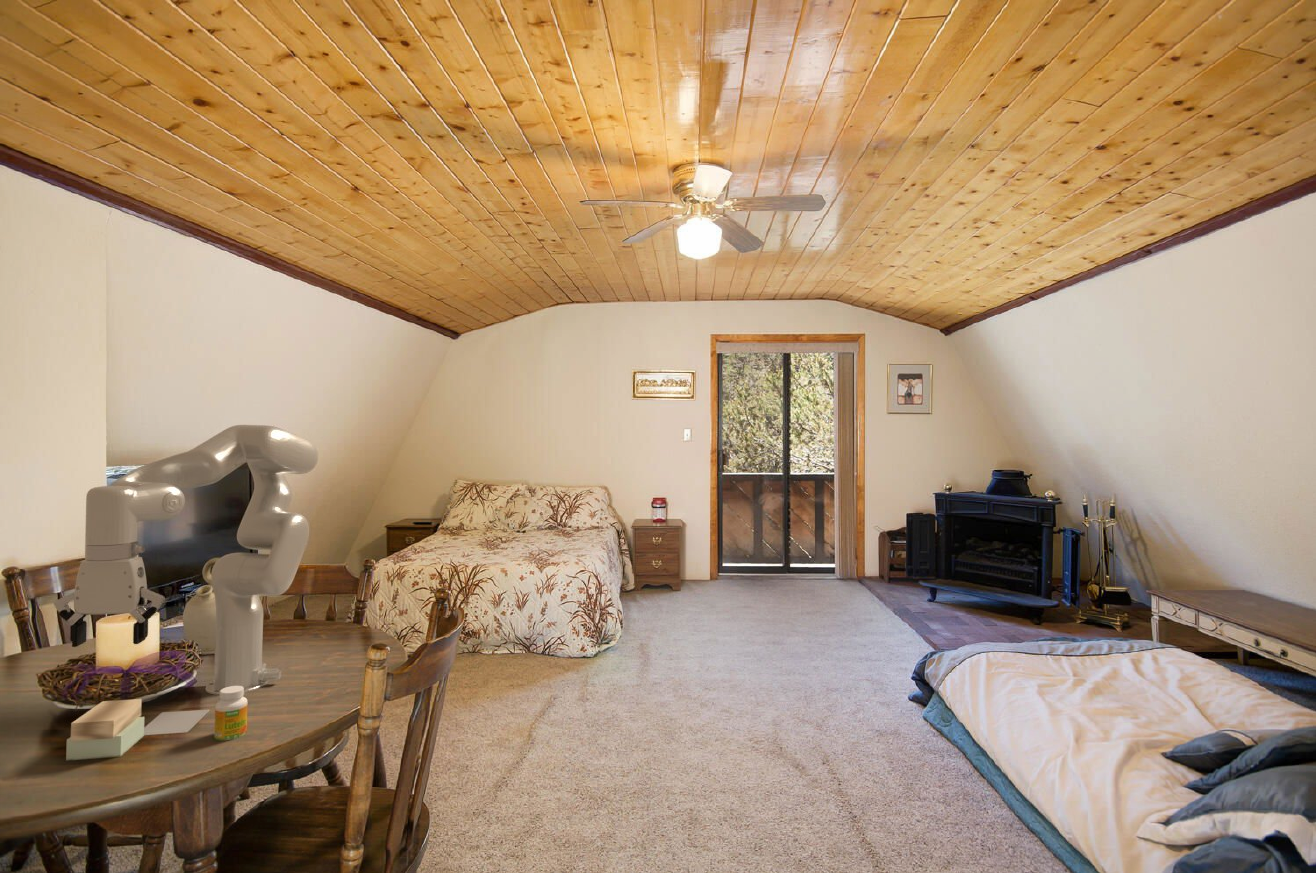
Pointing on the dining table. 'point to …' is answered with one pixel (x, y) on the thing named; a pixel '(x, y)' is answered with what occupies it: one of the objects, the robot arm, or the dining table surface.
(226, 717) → the supplement bottle
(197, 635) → the jug
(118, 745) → the sage green tray
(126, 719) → the wooden block
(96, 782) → the dining table surface
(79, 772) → the dining table surface
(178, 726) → the mat
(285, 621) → the dining table surface
